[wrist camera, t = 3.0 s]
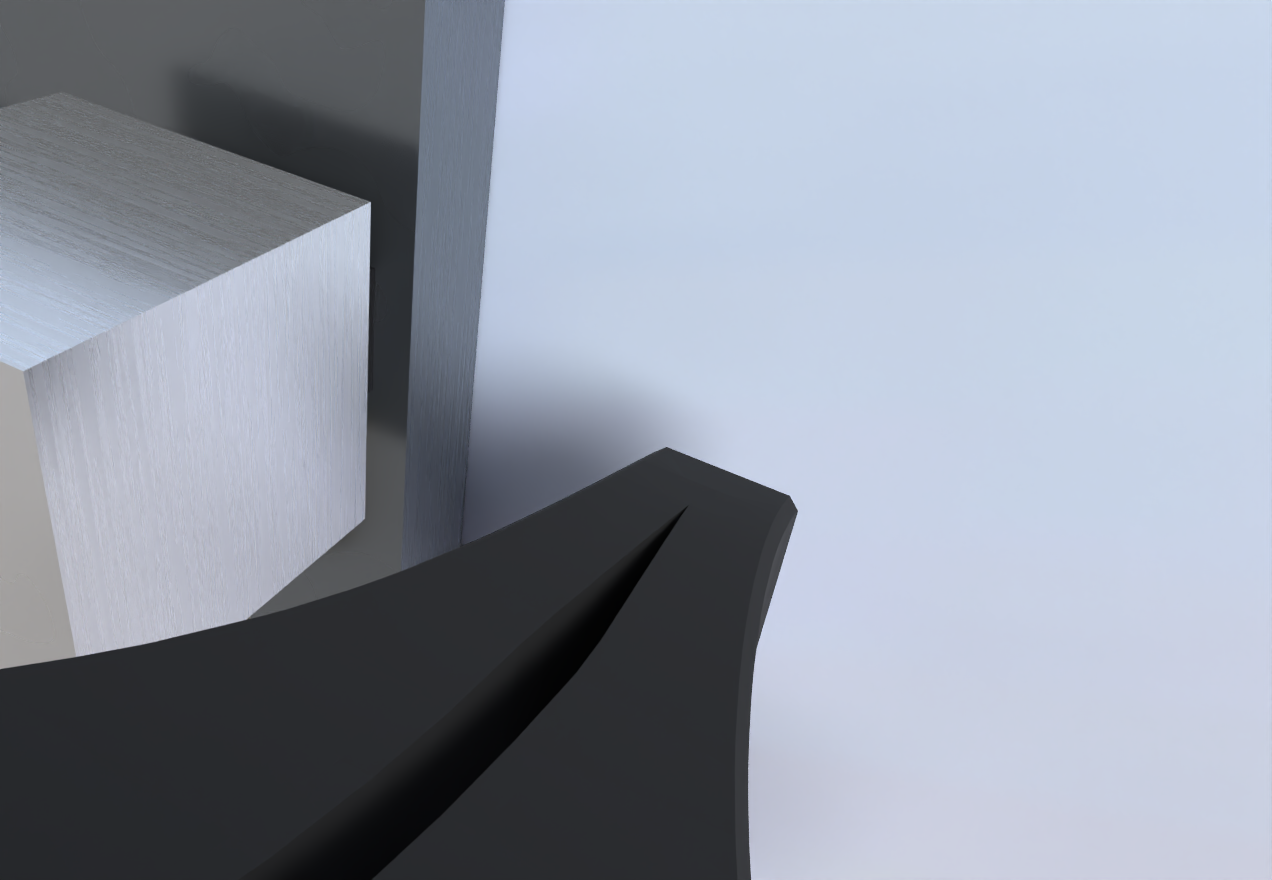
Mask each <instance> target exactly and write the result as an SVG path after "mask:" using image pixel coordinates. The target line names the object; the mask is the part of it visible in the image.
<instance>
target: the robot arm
mask: <svg viewBox="0 0 1272 880" xmlns="http://www.w3.org/2000/svg"><path fill="white" fill-rule="evenodd" d="M797 512H798V510H797V509H796V507H795V505H794V503H793V501H792V499H791V497H790V496H789V495H786V494H784V493H781V492H779V491H776V490H773V489H771V488H768V487H766V486H763V485H761V484H758V483H756V482H753V481H751V480H748V479H746V478H743V477H741V476H738V475H736V474H733V473H730V472H728V471H725V470H723V469H720V468H718V467H715V466H713V465H710V464H708V463H705V462H703V461H700V460H698V459H695V458H693V457H690V456H688V455H685V454H682V453H680V452H677V451H675V450H672V449H670V448H667V447H666V448H663V449H661V450H659V451H656V452H654V453H652V454H650V455H648V456H646V457H644V458H642V459H640V460H638V461H636V462H634V463H632V464H630V465H628V466H626V467H624V468H622V469H621V470H619V471H617V472H615V473H613V474H611V475H609V476H607V477H605V478H603V479H601V480H599V481H598V482H596V483H594V484H592V485H590V486H588V487H586V488H584V489H582V490H580V491H578V492H576V493H574V494H572V495H570V496H568V497H566V498H564V499H562V500H560V501H558V502H556V503H554V504H552V505H550V506H548V507H546V508H544V509H542V510H540V511H537V512H535V513H533V514H531V515H529V516H527V517H525V518H523V519H521V520H518V521H516V522H514V523H512V524H510V525H508V526H506V527H504V528H502V529H500V530H497V531H495V532H493V533H491V534H489V535H486V536H484V537H482V538H480V539H478V540H475V541H473V542H470V543H468V544H466V545H463V546H461V547H458V548H456V549H453V550H451V551H449V552H446V553H444V554H441V555H439V556H437V557H434V558H432V559H429V560H427V561H424V562H422V563H420V564H417V565H415V566H412V567H410V568H407V569H405V570H403V571H400V572H397V573H395V574H392V575H389V576H387V577H384V578H381V579H378V580H376V581H373V582H370V583H367V584H365V585H362V586H359V587H356V588H353V589H350V590H347V591H344V592H341V593H338V594H334V595H331V596H328V597H325V598H322V599H318V600H315V601H312V602H309V603H305V604H302V605H299V606H296V607H293V608H289V609H286V610H282V611H278V612H275V613H271V614H268V615H264V616H260V617H256V618H251V619H247V620H243V621H239V622H235V623H231V624H226V625H222V626H218V627H214V628H210V629H206V630H202V631H197V632H193V633H189V634H185V635H181V636H177V637H172V638H168V639H164V640H160V641H156V642H152V643H147V644H142V645H137V646H132V647H127V648H121V649H116V650H110V651H105V652H100V653H94V654H89V655H84V656H78V657H73V658H67V659H60V660H54V661H48V662H41V663H35V664H29V665H22V666H16V667H10V668H3V669H0V880H751V871H750V853H749V819H748V754H749V729H750V711H751V694H752V683H753V672H754V662H755V655H756V648H757V645H758V641H759V638H760V635H761V631H762V628H763V625H764V621H765V618H766V615H767V612H768V608H769V605H770V602H771V598H772V595H773V592H774V588H775V585H776V582H777V579H778V575H779V572H780V569H781V565H782V562H783V559H784V555H785V552H786V549H787V545H788V542H789V539H790V536H791V532H792V529H793V526H794V522H795V519H796V516H797Z"/></svg>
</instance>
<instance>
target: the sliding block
mask: <svg viewBox="0 0 1272 880" xmlns="http://www.w3.org/2000/svg"><path fill="white" fill-rule="evenodd" d="M370 218H371V202H370V201H367V200H364V199H361V198H358V197H356V196H353V195H350V194H347V193H344V192H341V191H339V190H336V189H333V188H330V187H327V186H325V185H322V184H319V183H316V182H313V181H310V180H308V179H305V178H302V177H299V176H296V175H294V174H291V173H288V172H285V171H282V170H280V169H277V168H274V167H271V166H268V165H265V164H263V163H260V162H257V161H254V160H251V159H249V158H246V157H243V156H240V155H237V154H234V153H232V152H229V151H226V150H223V149H220V148H218V147H215V146H212V145H209V144H206V143H204V142H201V141H198V140H195V139H192V138H189V137H187V136H184V135H181V134H178V133H175V132H173V131H170V130H167V129H164V128H161V127H158V126H156V125H153V124H150V123H147V122H144V121H142V120H139V119H136V118H133V117H130V116H128V115H125V114H122V113H119V112H116V111H113V110H111V109H108V108H105V107H102V106H99V105H97V104H94V103H91V102H88V101H85V100H82V99H80V98H77V97H74V96H71V95H68V94H66V93H63V92H60V93H56V94H52V95H49V96H45V97H41V98H37V99H33V100H30V101H26V102H22V103H18V104H14V105H11V106H7V107H3V108H0V669H3V668H10V667H16V666H22V665H29V664H35V663H41V662H48V661H54V660H60V659H67V658H73V657H78V656H84V655H89V654H94V653H100V652H105V651H110V650H116V649H121V648H127V647H132V646H137V645H142V644H147V643H152V642H156V641H160V640H164V639H168V638H172V637H177V636H181V635H185V634H189V633H193V632H197V631H202V630H206V629H210V628H214V627H218V626H222V625H226V624H231V623H235V622H239V621H243V620H247V619H251V617H250V616H251V615H252V614H253V613H255V612H256V611H257V610H258V609H259V608H260V607H262V606H263V605H264V604H265V603H266V602H268V601H269V600H270V599H271V598H272V597H273V596H275V595H276V594H277V593H278V592H279V591H281V590H282V589H283V588H284V587H285V586H286V585H288V584H289V583H290V582H291V581H292V580H293V579H295V578H296V577H297V576H298V575H299V574H301V573H302V572H303V571H304V570H305V569H306V568H308V567H309V566H310V565H311V564H312V563H314V562H315V561H316V560H317V559H318V558H319V557H321V556H322V555H323V554H324V553H325V552H326V551H328V550H329V549H330V548H331V547H332V546H334V545H335V544H336V543H337V542H338V541H339V540H341V539H342V538H343V537H344V536H345V535H346V534H348V533H349V532H350V531H351V530H352V529H354V528H355V527H356V526H357V525H358V524H359V523H361V522H362V521H363V520H364V519H365V494H366V438H367V383H368V328H369V273H370Z"/></svg>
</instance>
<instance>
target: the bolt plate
mask: <svg viewBox="0 0 1272 880" xmlns="http://www.w3.org/2000/svg"><path fill="white" fill-rule="evenodd" d="M504 2H505V0H0V108H3V107H7V106H11V105H14V104H18V103H22V102H26V101H30V100H33V99H37V98H41V97H45V96H49V95H52V94H56V93H60V92H63V93H66V94H68V95H71V96H74V97H77V98H80V99H82V100H85V101H88V102H91V103H94V104H97V105H99V106H102V107H105V108H108V109H111V110H113V111H116V112H119V113H122V114H125V115H128V116H130V117H133V118H136V119H139V120H142V121H144V122H147V123H150V124H153V125H156V126H158V127H161V128H164V129H167V130H170V131H173V132H175V133H178V134H181V135H184V136H187V137H189V138H192V139H195V140H198V141H201V142H204V143H206V144H209V145H212V146H215V147H218V148H220V149H223V150H226V151H229V152H232V153H234V154H237V155H240V156H243V157H246V158H249V159H251V160H254V161H257V162H260V163H263V164H265V165H268V166H271V167H274V168H277V169H280V170H282V171H285V172H288V173H291V174H294V175H296V176H299V177H302V178H305V179H308V180H310V181H313V182H316V183H319V184H322V185H325V186H327V187H330V188H333V189H336V190H339V191H341V192H344V193H347V194H350V195H353V196H356V197H358V198H361V199H364V200H367V201H370V202H371V218H370V273H369V328H368V383H367V438H366V494H365V519H364V520H363V521H362V522H361V523H359V524H358V525H357V526H356V527H355V528H354V529H352V530H351V531H350V532H349V533H348V534H346V535H345V536H344V537H343V538H342V539H341V540H339V541H338V542H337V543H336V544H335V545H334V546H332V547H331V548H330V549H329V550H328V551H326V552H325V553H324V554H323V555H322V556H321V557H319V558H318V559H317V560H316V561H315V562H314V563H312V564H311V565H310V566H309V567H308V568H306V569H305V570H304V571H303V572H302V573H301V574H299V575H298V576H297V577H296V578H295V579H293V580H292V581H291V582H290V583H289V584H288V585H286V586H285V587H284V588H283V589H282V590H281V591H279V592H278V593H277V594H276V595H275V596H273V597H272V598H271V599H270V600H269V601H268V602H266V603H265V604H264V605H263V606H262V607H260V608H259V609H258V610H257V611H256V612H255V613H253V614H252V615H251V616H250V617H251V618H256V617H260V616H264V615H268V614H271V613H275V612H278V611H282V610H286V609H289V608H293V607H296V606H299V605H302V604H305V603H309V602H312V601H315V600H318V599H322V598H325V597H328V596H331V595H334V594H338V593H341V592H344V591H347V590H350V589H353V588H356V587H359V586H362V585H365V584H367V583H370V582H373V581H376V580H378V579H381V578H384V577H387V576H389V575H392V574H395V573H397V572H400V571H403V570H405V569H407V568H410V567H412V566H415V565H417V564H420V563H422V562H424V561H427V560H429V559H432V558H434V557H437V556H439V555H441V554H444V553H446V552H449V551H451V550H453V549H456V548H458V547H460V541H461V529H462V517H463V505H464V492H465V480H466V468H467V456H468V443H469V431H470V419H471V407H472V394H473V382H474V370H475V358H476V345H477V333H478V321H479V309H480V296H481V284H482V272H483V260H484V247H485V235H486V223H487V211H488V198H489V186H490V174H491V162H492V149H493V137H494V125H495V113H496V100H497V88H498V76H499V63H500V51H501V39H502V27H503V14H504Z"/></svg>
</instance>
